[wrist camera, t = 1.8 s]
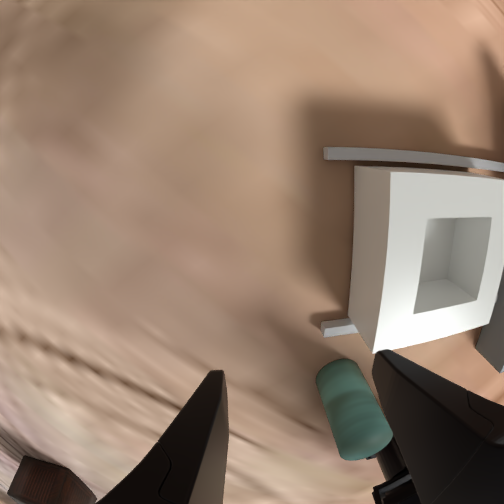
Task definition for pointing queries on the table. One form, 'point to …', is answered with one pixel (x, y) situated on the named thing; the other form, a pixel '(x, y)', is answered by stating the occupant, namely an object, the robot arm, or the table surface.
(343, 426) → the dowel
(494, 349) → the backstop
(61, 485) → the black box with stems
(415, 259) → the socket block
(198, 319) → the table surface
